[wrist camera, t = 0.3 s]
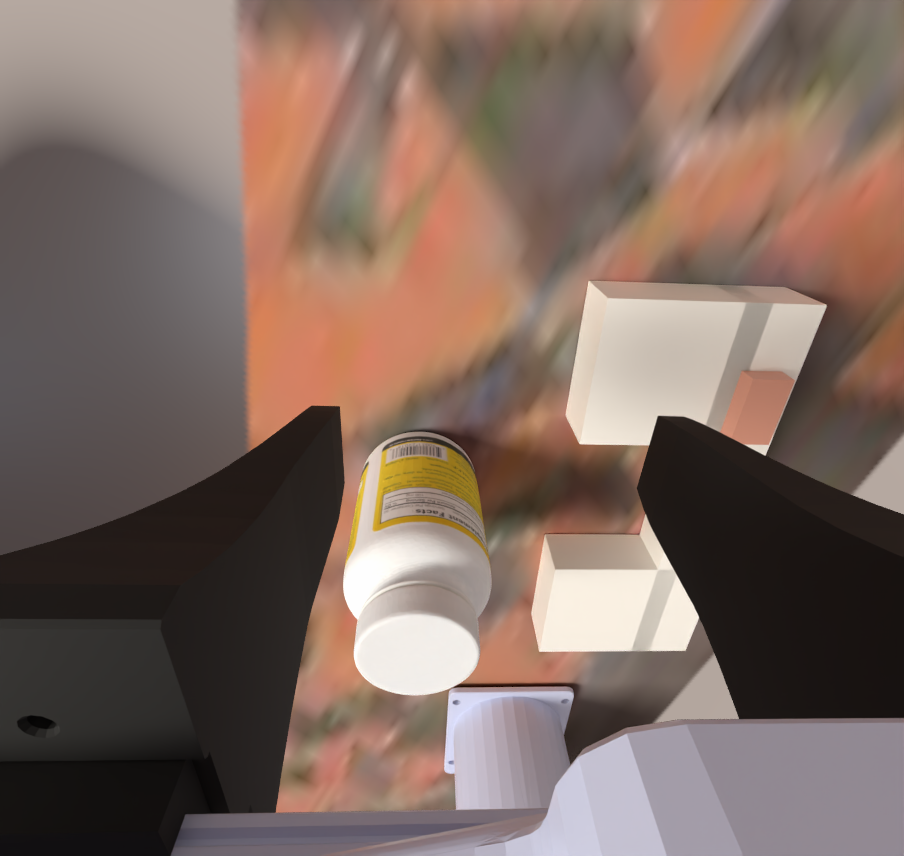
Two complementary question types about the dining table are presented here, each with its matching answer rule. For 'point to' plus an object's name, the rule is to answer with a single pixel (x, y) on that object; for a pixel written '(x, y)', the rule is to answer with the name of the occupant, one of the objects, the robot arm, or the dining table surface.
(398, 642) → the supplement bottle
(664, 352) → the socket dock
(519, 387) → the dining table surface
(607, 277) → the dining table surface
